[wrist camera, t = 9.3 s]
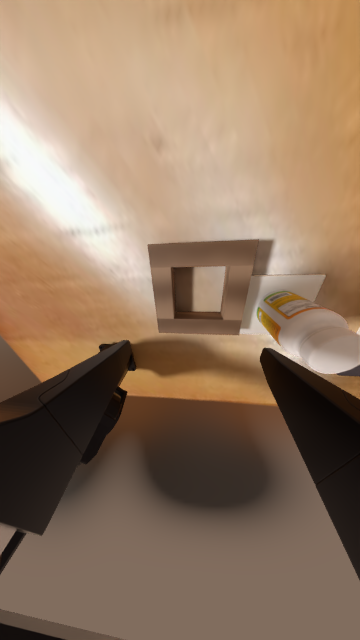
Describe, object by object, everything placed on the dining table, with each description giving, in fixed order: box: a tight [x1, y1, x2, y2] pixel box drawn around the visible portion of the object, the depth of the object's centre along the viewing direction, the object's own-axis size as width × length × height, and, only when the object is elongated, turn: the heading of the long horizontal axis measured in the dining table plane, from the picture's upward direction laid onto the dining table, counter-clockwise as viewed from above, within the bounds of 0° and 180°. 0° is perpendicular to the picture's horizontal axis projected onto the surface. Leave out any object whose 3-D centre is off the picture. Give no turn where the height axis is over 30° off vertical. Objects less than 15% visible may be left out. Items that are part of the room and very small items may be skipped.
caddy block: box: [148, 240, 259, 335], centre depth 18 cm, size 12×12×2 cm
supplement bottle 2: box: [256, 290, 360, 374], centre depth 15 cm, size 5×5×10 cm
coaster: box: [239, 274, 326, 335], centre depth 19 cm, size 9×9×1 cm
